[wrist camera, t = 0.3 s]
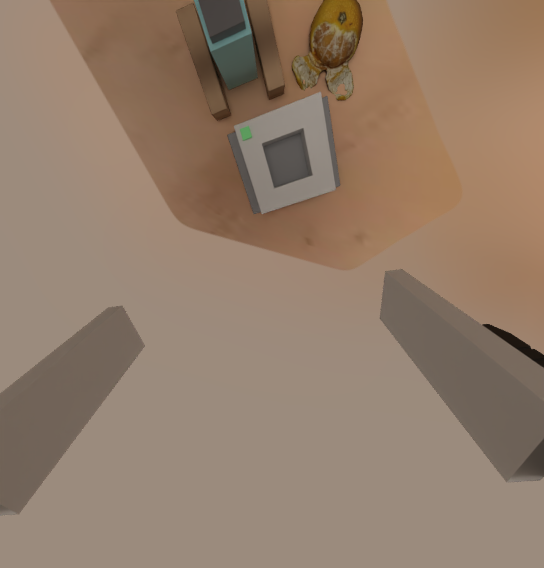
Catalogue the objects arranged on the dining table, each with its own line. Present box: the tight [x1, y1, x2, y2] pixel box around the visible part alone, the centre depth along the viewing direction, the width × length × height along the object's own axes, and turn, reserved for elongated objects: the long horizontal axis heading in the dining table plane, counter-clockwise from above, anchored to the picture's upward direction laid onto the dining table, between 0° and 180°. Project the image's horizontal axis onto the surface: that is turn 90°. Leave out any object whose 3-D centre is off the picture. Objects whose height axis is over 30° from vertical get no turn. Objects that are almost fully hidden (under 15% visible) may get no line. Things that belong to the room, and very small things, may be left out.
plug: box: [194, 0, 258, 90], centre depth 21 cm, size 4×4×10 cm
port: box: [227, 92, 340, 214], centre depth 29 cm, size 11×14×4 cm
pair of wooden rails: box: [176, 0, 285, 121], centre depth 24 cm, size 9×9×3 cm
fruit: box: [292, 0, 363, 100], centre depth 24 cm, size 8×8×4 cm
